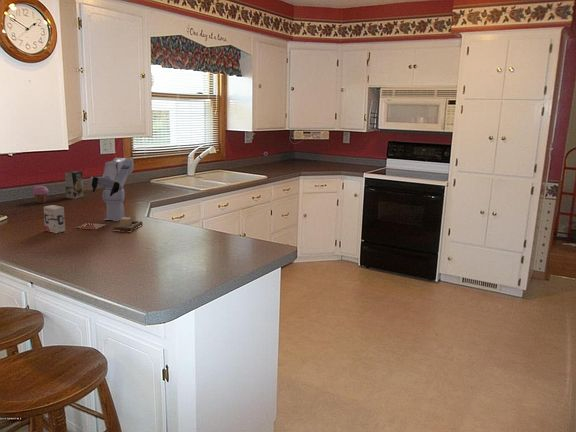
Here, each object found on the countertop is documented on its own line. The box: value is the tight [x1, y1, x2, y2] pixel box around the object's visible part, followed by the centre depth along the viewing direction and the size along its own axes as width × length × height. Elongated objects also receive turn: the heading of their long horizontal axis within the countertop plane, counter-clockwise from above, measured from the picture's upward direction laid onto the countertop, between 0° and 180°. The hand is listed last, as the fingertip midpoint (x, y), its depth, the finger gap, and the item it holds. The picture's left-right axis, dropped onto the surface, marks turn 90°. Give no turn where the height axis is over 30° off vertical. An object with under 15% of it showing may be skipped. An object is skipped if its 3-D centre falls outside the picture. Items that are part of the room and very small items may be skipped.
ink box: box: [43, 204, 66, 234], centre depth 216 cm, size 8×5×12 cm, turn 60°
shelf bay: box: [112, 220, 143, 231], centre depth 229 cm, size 14×8×2 cm, turn 174°
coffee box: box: [64, 170, 84, 200], centre depth 297 cm, size 9×6×16 cm
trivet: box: [77, 222, 107, 230], centre depth 228 cm, size 10×10×1 cm
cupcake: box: [31, 185, 50, 204], centre depth 278 cm, size 9×9×10 cm
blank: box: [119, 216, 133, 228], centre depth 229 cm, size 4×4×5 cm
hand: (102, 192), depth 221 cm, fingers open, 7 cm apart
